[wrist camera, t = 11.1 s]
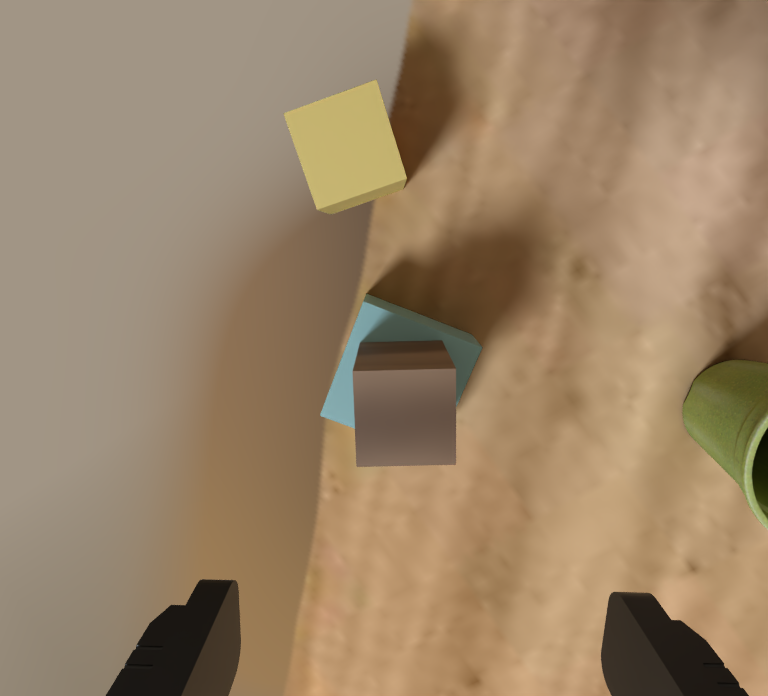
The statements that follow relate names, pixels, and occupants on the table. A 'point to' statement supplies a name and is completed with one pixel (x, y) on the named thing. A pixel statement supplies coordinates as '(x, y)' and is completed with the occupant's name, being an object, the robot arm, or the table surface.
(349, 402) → the teal plinth block
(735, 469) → the plant pot
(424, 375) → the walnut block
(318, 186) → the mustard block
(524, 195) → the table surface
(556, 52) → the table surface
